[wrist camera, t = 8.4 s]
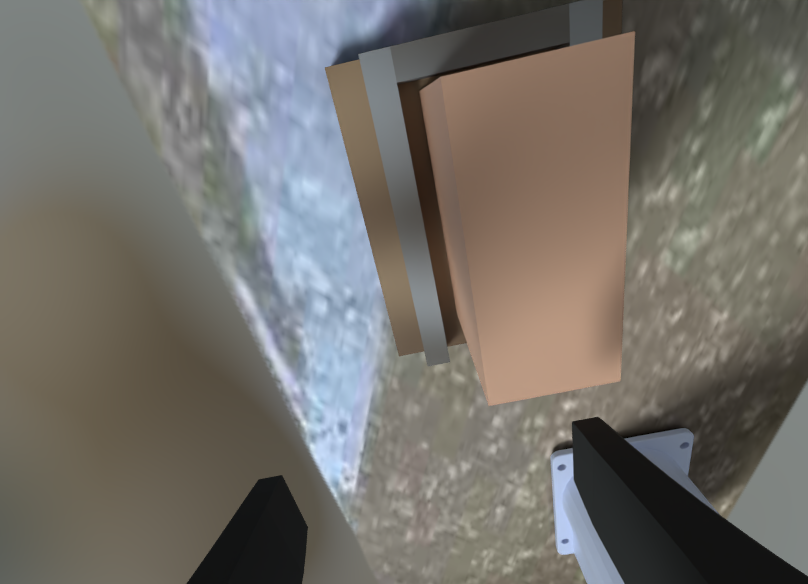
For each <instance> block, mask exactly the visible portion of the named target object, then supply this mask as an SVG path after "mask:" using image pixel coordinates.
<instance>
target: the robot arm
mask: <svg viewBox="0 0 808 584" xmlns="http://www.w3.org/2000/svg"><path fill="white" fill-rule="evenodd" d="M572 439H573V448H569V449H564V450H558V451H555V452H554V453H553V454H552V455H551V473H552V490H553V506H554V522H555V538H556V548H557V550H558V553H560V554H563V555H566V554H572V553H575V556H576V558H577V561H578V563H579V565H580V568H581V570H582V572H583V575H584V577H585V579H586V582H587V584H808V576H807V575H805V574H804V573H802V572H801V571H799V570H798V569H796V568H794V567H793V566H791V565H790V564H788V563H787V562H785V561H784V560H783V559H781V558H780V557H778V556H776V555H775V554H774V553H772V552H771V551H769V550H768V549H767V548H765V547H764V546H762V545H761V544H759V543H758V542H757V541H755V540H754V539H752V538H751V537H749V536H748V535H747V534H745V533H744V532H743V531H741V530H740V529H738V528H737V527H736V526H734V525H733V524H731V523H730V522H728V521H727V520H726V519H725V518H723V517H722V516H720V515H719V513H718V512H717V511H716V510H715V509H714V507H713V506H712V505H711V504H710V503H709V501H708V500H707V499H706V498H705V497H704V495H703V494H702V493H701V492H700V490H699V489H698V488H697V487H696V486H695V484H694V483H693V482H692V481H691V480H690V478H689V477H688V472H689V465H690V459H691V453H692V446H693V440H694V435H693V433H692V432H691V431H690V430H689V429H687V428H680V429H674V430H669V431H663V432H658V433H652V434H647V435H641V436H636V437H630V438H625V439H624V438H623V437H621V436H620V435H619V434H618V433H617V432H616V431H615V430H613V429H612V428H611V427H610V426H609V425H608V424H606V423H605V422H604V421H603V420H602V419H600V418H599V417H594V418H589V419H584V420H578V421H573V422H572ZM307 530H308V526H307V525H306V523H305V521H304V518H303V516H302V514H301V512H300V510H299V509H298V506H297V504H296V502H295V500H294V498H293V496H292V495H291V492H290V490H289V488H288V486H287V484H286V483H285V480H284V478H283V476H282V475H280V476H275V477H270V478H265V479H259V480H258V481H257V483H256V484H255V486H254V487H253V488H252V490H251V491H250V493H249V494H248V496H247V497H246V498H245V500H244V501H243V503H242V504H241V506H240V507H239V509H238V510H237V512H236V513H235V515H234V516H233V518H232V519H231V521H230V522H229V524H228V525H227V526H226V528H225V529H224V531H223V532H222V534H221V535H220V537H219V538H218V540H217V541H216V542H215V544H214V545H213V547H212V548H211V550H210V551H209V553H208V554H207V555H206V557H205V558H204V560H203V561H202V562H201V564H200V566H199V567H198V568H197V570H196V571H195V573H194V574H193V575H192V577H191V578H190V579H189V581H188V582H187V584H302V579H303V574H304V564H305V555H306V543H307Z"/></svg>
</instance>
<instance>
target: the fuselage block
mask: <svg viewBox="0 0 808 584" xmlns="http://www.w3.org/2000/svg"><path fill="white" fill-rule="evenodd" d="M634 46H635V31H633V32H629V33H625V34H621V35H616V36H612V37H608V38H604V39H599V40H595V41H591V42H587V43H582V44H578V45H574V46H570V47H565V48H561V49H557V50H553V51H548V52H544V53H540V54H536V55H531V56H527V57H523V58H519V59H514V60H510V61H506V62H502V63H497V64H493V65H489V66H485V67H480V68H476V69H472V70H468V71H463V72H459V73H455V74H451V75H446V76H442V77H440V78H438V79H437V80H435V81H434V82H432V83H431V84H429V85H428V86H426V87H425V88H423V89H422V90H420V91H419V95H420V101H421V107H422V113H423V119H424V125H425V130H426V136H427V142H428V148H429V154H430V160H431V165H432V171H433V177H434V183H435V189H436V195H437V201H438V206H439V212H440V218H441V224H442V230H443V236H444V241H445V247H446V253H447V259H448V265H449V271H450V277H451V282H452V288H453V294H454V300H455V306H456V312H457V315H458V318H459V321H460V324H461V327H462V330H463V333H464V336H465V338H466V341H467V344H468V347H469V350H470V353H471V356H472V359H473V361H474V364H475V367H476V370H477V373H478V376H479V379H480V382H481V384H482V387H483V390H484V393H485V396H486V399H487V402H488V405H489V406H492V405H497V404H502V403H507V402H513V401H518V400H523V399H529V398H534V397H539V396H544V395H550V394H555V393H560V392H566V391H571V390H576V389H581V388H587V387H592V386H597V385H603V384H608V383H613V382H619V381H621V358H622V334H623V310H624V286H625V262H626V238H627V214H628V190H629V166H630V142H631V118H632V94H633V70H634Z"/></svg>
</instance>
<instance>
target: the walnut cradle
mask: <svg viewBox="0 0 808 584" xmlns="http://www.w3.org/2000/svg"><path fill="white" fill-rule="evenodd" d="M622 1H623V0H605V1H603V0H581V1H577V2H573V3H568V4H564V5H560V6H556V7H552V8H548V9H543V10H539V11H535V12H531V13H527V14H523V15H518V16H514V17H510V18H506V19H502V20H498V21H494V22H489V23H485V24H481V25H477V26H473V27H469V28H464V29H460V30H456V31H452V32H448V33H444V34H440V35H435V36H431V37H427V38H423V39H419V40H415V41H410V42H406V43H402V44H398V45H394V46H390V47H385V48H381V49H377V50H373V51H369V52H365V53H361V54H358V55H359V60H354V61H350V62H346V63H342V64H338V65H334V66H329V67H325V71H326V74H327V78H328V82H329V86H330V90H331V94H332V98H333V102H334V105H335V109H336V113H337V117H338V121H339V125H340V129H341V133H342V136H343V140H344V144H345V148H346V152H347V156H348V160H349V164H350V167H351V171H352V175H353V179H354V183H355V187H356V191H357V195H358V198H359V202H360V206H361V210H362V214H363V218H364V222H365V226H366V229H367V233H368V237H369V241H370V245H371V249H372V253H373V257H374V260H375V264H376V268H377V272H378V276H379V280H380V284H381V288H382V291H383V295H384V299H385V303H386V307H387V311H388V315H389V319H390V322H391V326H392V330H393V334H394V338H395V342H396V346H397V350H398V353H399V356H403V355H408V354H413V353H418V352H423V351H424V352H425V356H426V361H427V365H428V366H432V365H437V364H442V363H448V362H450V359H449V353H448V348H447V347H448V346H453V345H458V344H463V343H467V341H466V338H465V336H464V333H463V330H462V327H461V324H460V321H459V318H458V315H457V312H456V306H455V300H454V294H453V288H452V282H451V277H450V271H449V265H448V259H447V253H446V247H445V241H444V236H443V230H442V224H441V218H440V212H439V206H438V201H437V195H436V189H435V183H434V177H433V171H432V165H431V160H430V154H429V148H428V142H427V136H426V130H425V125H424V119H423V113H422V107H421V101H420V95H419V91H420V90H422V89H423V88H425V87H426V86H428V85H429V84H431V83H432V82H434V81H435V80H437V79H438V78H440V77H442V76H446V75H451V74H455V73H459V72H463V71H468V70H472V69H476V68H480V67H485V66H489V65H493V64H497V63H502V62H506V61H510V60H514V59H519V58H523V57H527V56H531V55H536V54H540V53H544V52H548V51H553V50H557V49H561V48H565V47H570V46H574V45H578V44H582V43H587V42H591V41H595V40H599V39H604V38H608V37H612V36H616V35H621V34H622Z"/></svg>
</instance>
